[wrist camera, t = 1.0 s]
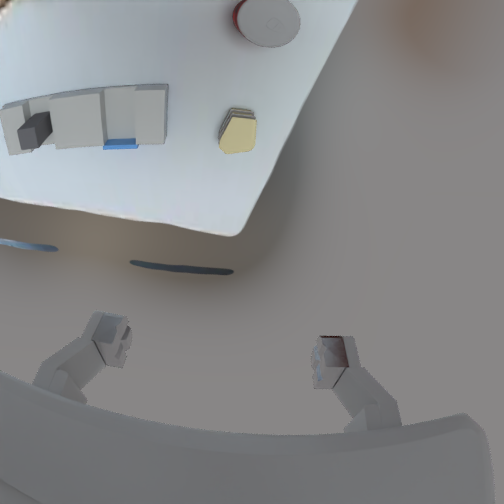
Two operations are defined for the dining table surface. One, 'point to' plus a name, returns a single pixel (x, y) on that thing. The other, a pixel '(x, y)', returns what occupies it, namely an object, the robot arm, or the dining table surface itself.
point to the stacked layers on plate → (238, 132)
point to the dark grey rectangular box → (35, 131)
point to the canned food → (267, 21)
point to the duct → (94, 117)
